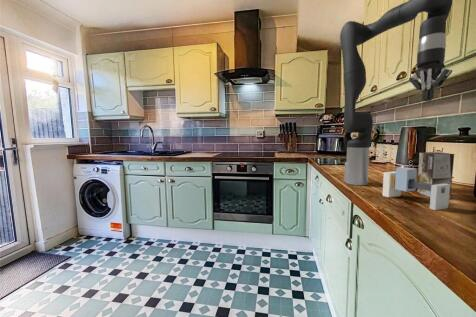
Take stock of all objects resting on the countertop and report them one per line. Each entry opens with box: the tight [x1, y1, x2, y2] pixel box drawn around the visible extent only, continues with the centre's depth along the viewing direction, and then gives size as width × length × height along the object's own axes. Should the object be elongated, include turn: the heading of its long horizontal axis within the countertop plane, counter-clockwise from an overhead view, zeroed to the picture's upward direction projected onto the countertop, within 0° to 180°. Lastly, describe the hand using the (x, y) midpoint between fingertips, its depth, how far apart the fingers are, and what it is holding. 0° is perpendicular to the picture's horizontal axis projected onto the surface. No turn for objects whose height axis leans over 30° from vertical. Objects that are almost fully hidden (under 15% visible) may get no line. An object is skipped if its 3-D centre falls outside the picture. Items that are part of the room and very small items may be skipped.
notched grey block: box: [395, 167, 418, 193], centre depth 79 cm, size 4×5×8 cm
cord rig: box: [382, 170, 450, 211], centre depth 77 cm, size 18×6×9 cm, turn 18°
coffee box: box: [416, 151, 455, 200], centre depth 84 cm, size 9×6×16 cm
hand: (427, 100), depth 80 cm, fingers closed
